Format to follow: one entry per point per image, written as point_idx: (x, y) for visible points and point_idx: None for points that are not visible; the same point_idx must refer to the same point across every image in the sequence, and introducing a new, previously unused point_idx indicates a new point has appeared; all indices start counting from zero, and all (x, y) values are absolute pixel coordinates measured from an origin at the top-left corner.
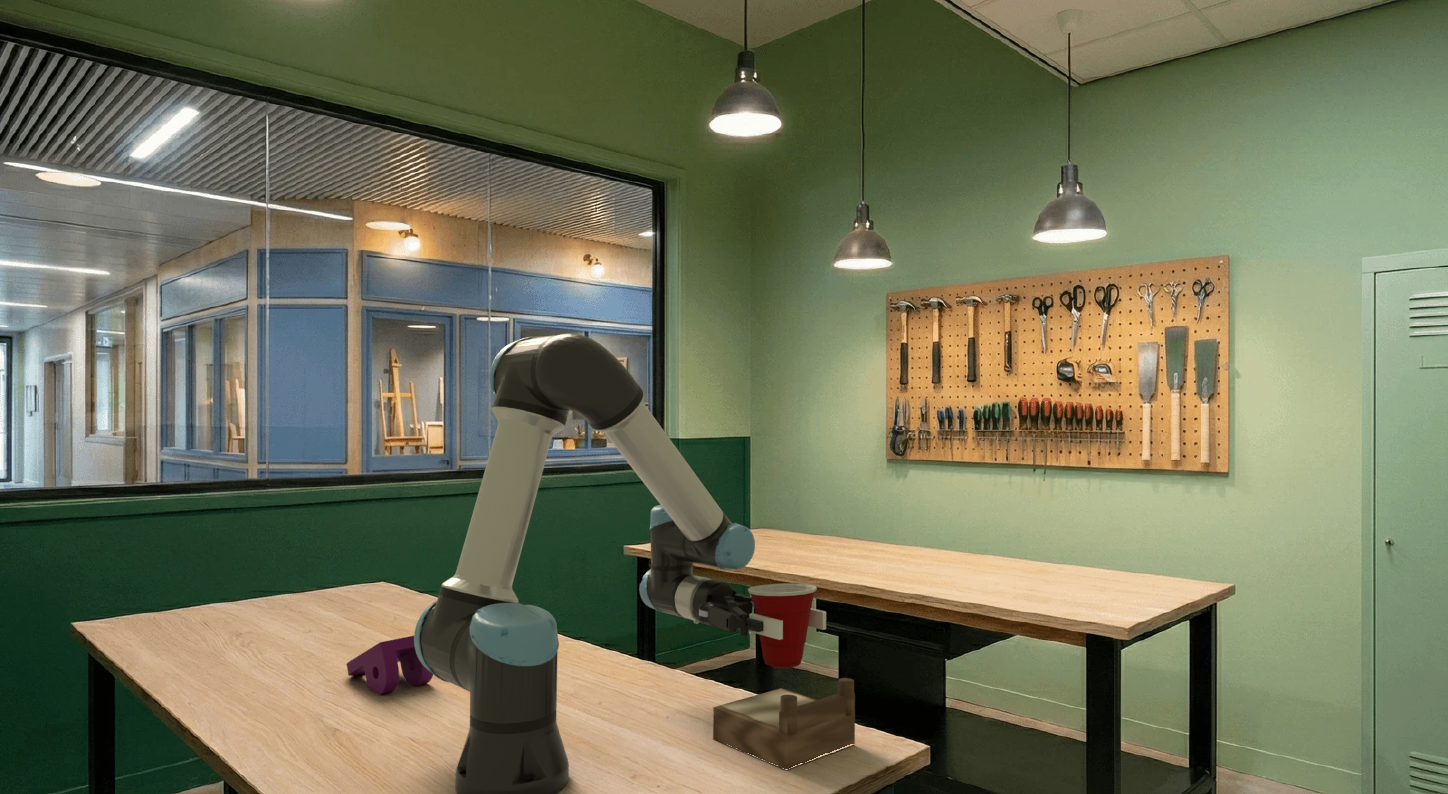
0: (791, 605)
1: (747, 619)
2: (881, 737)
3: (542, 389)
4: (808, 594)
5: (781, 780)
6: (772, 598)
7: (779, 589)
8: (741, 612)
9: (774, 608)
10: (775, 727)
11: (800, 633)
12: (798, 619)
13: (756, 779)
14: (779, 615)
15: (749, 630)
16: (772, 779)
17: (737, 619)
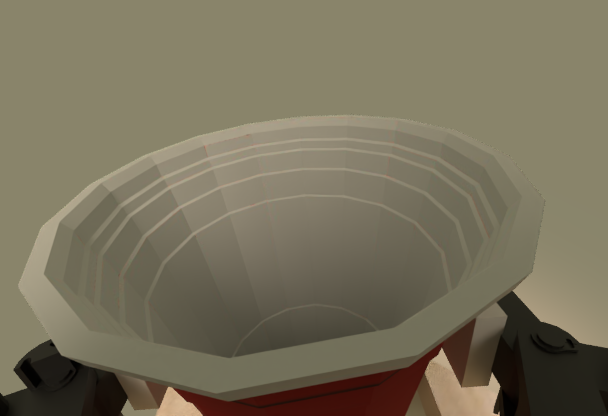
0: (348, 170)
1: (524, 314)
2: (173, 403)
3: None
4: (273, 139)
5: (436, 369)
6: (420, 155)
7: (104, 320)
8: (562, 402)
9: (405, 198)
10: (418, 393)
11: (304, 270)
12: (316, 222)
13: (478, 395)
14: (384, 219)
15: (488, 378)
16: (449, 380)
17: (601, 347)
